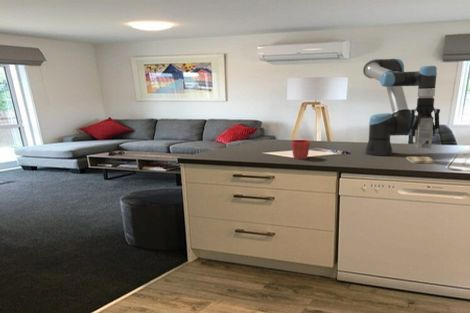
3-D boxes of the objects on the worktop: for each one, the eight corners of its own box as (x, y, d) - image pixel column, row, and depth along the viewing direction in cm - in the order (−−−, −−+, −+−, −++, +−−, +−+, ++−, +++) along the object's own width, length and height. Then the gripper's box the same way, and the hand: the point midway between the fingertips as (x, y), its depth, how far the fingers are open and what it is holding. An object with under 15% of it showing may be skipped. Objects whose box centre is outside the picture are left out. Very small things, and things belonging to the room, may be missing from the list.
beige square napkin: (413, 163, 172) (413, 160, 172) (406, 158, 183) (406, 156, 183) (436, 163, 170) (436, 161, 170) (427, 158, 181) (428, 156, 181)
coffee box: (413, 145, 180) (415, 115, 177) (426, 145, 178) (429, 115, 175) (417, 148, 172) (419, 116, 169) (431, 148, 170) (433, 116, 167)
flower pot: (311, 156, 197) (311, 139, 195) (308, 160, 187) (308, 142, 185) (292, 155, 200) (293, 139, 198) (289, 159, 190) (289, 142, 188)
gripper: (407, 98, 168) (404, 143, 173) (450, 97, 165) (446, 143, 169) (402, 97, 175) (399, 141, 180) (443, 96, 172) (439, 141, 177)
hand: (422, 142), depth 175 cm, fingers closed on coffee box, 7 cm apart
